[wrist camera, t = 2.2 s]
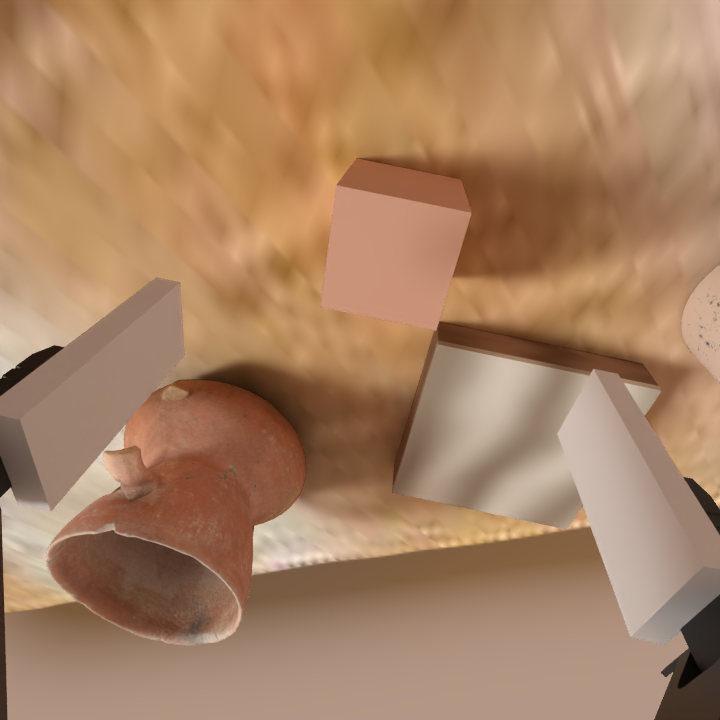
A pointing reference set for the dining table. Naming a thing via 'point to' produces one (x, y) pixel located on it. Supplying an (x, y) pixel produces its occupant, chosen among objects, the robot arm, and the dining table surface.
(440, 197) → the block
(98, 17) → the dining table surface
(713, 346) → the teacup with lid
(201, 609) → the ceramic jug
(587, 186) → the dining table surface
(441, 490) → the plinth
